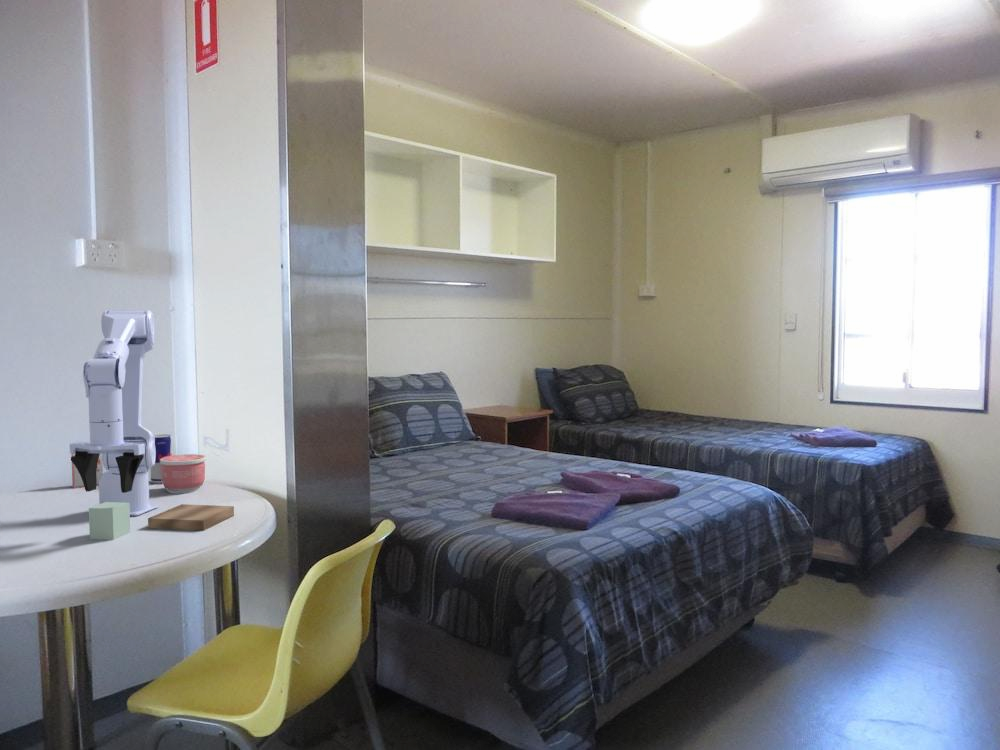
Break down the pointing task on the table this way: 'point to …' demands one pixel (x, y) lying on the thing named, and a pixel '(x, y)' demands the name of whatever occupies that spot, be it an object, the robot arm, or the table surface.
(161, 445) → the energy drink
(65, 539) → the table surface
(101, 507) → the sage block
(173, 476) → the container
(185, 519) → the walnut base
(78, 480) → the printed cream box
